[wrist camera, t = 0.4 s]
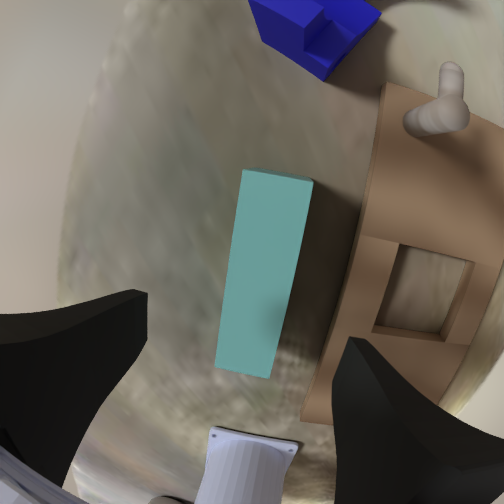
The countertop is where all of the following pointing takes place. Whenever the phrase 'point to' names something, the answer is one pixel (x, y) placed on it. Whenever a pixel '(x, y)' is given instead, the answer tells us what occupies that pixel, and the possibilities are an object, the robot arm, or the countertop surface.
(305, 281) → the countertop surface
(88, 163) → the countertop surface
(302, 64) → the blue concave arch block
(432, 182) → the slotted wooden board
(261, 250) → the teal rectangular block
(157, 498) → the plastic bottle
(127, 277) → the countertop surface
